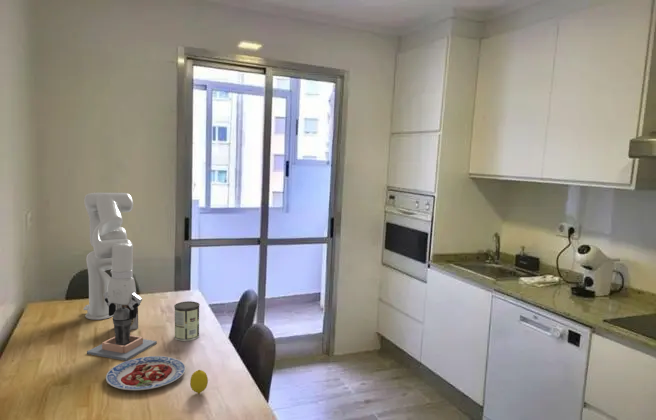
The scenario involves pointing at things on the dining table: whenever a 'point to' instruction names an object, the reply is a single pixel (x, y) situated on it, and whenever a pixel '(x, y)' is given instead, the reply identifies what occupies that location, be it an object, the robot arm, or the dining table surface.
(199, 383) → the lemon
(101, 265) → the robot arm
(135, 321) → the coffee box
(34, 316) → the dining table surface
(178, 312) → the coffee can
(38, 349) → the dining table surface
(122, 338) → the beverage cup
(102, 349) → the collar stand
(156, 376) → the ceramic plate
